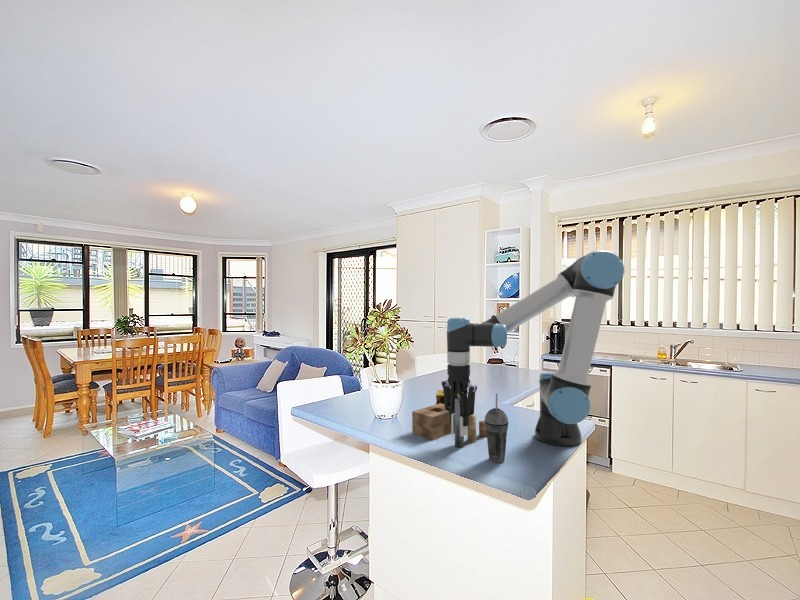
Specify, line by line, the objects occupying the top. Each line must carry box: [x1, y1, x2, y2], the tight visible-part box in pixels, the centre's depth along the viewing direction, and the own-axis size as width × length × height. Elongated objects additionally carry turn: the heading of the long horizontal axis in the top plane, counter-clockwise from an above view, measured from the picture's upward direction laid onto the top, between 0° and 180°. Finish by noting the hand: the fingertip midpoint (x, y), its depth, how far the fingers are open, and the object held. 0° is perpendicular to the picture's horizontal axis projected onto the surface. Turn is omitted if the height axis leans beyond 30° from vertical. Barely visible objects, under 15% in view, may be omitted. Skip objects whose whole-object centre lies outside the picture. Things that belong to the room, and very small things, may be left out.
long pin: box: [454, 397, 465, 449], centre depth 130 cm, size 3×3×16 cm
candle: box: [435, 389, 460, 405], centre depth 163 cm, size 10×10×10 cm
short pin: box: [478, 420, 487, 438], centre depth 139 cm, size 3×3×5 cm
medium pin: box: [466, 413, 477, 443], centre depth 134 cm, size 3×3×9 cm
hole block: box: [411, 403, 452, 441], centre depth 144 cm, size 10×16×8 cm, turn 134°
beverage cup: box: [483, 393, 510, 464], centre depth 118 cm, size 7×7×20 cm
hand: (459, 433), depth 130 cm, fingers closed on long pin, 3 cm apart
